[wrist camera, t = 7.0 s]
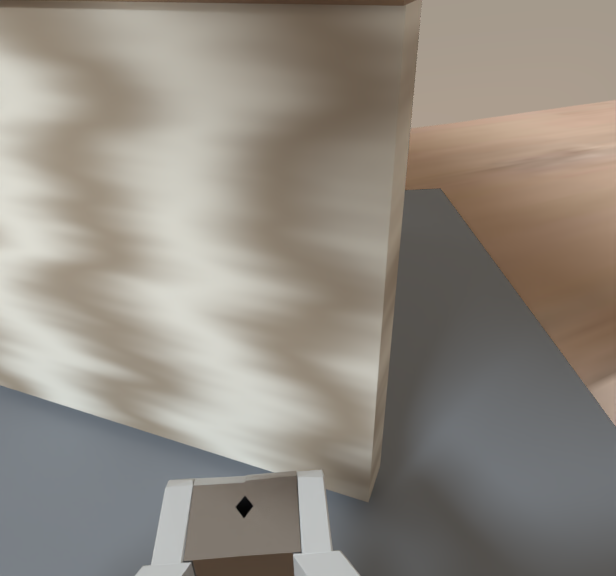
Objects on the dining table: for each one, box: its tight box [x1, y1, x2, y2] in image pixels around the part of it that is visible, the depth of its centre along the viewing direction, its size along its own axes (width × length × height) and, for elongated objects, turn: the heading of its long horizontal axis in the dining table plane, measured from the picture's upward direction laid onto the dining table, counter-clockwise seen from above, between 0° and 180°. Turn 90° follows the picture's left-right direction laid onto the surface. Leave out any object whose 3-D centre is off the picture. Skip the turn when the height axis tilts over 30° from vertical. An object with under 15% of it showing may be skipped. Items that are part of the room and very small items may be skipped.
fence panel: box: [0, 0, 422, 502], centre depth 17 cm, size 18×2×16 cm, turn 69°
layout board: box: [0, 189, 616, 576], centre depth 27 cm, size 32×34×1 cm
